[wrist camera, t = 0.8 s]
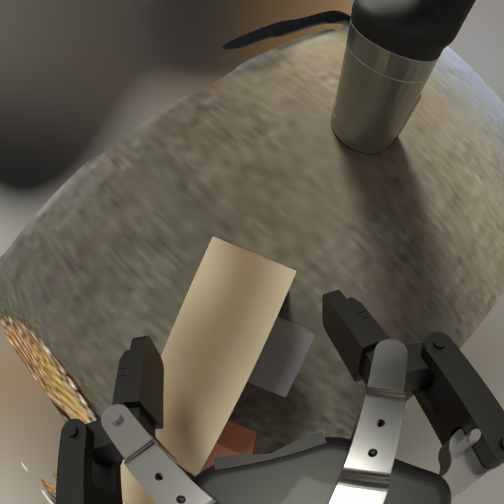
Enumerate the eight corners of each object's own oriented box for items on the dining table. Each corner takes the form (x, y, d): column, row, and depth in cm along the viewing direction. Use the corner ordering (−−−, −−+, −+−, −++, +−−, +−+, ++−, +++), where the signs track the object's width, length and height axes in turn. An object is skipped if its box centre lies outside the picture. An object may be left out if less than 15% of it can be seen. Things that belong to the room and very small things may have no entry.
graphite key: (253, 366, 23) (246, 381, 18) (276, 316, 24) (275, 318, 19) (284, 379, 22) (285, 397, 18) (308, 329, 23) (315, 335, 18)
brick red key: (208, 455, 21) (194, 480, 17) (227, 419, 22) (215, 443, 17) (236, 467, 21) (227, 494, 16) (257, 432, 22) (251, 457, 17)
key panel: (176, 429, 28) (111, 494, 13) (247, 271, 31) (212, 236, 16) (212, 447, 27) (167, 526, 12) (288, 288, 30) (296, 271, 15)
